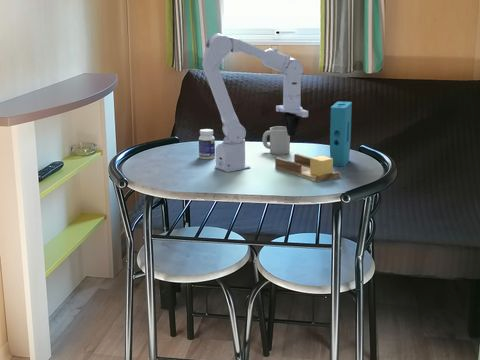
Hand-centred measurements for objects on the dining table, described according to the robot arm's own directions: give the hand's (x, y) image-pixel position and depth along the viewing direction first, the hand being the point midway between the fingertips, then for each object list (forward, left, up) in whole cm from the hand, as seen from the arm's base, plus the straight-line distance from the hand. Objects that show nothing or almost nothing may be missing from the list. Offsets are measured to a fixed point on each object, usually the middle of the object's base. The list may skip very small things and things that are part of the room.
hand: (291, 135), depth 227 cm
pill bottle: (-18, +25, -10) cm, 32 cm away
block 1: (-3, -19, -9) cm, 21 cm away
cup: (+6, +16, -10) cm, 20 cm away
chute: (-3, -11, -10) cm, 15 cm away
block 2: (+14, -9, -10) cm, 19 cm away
